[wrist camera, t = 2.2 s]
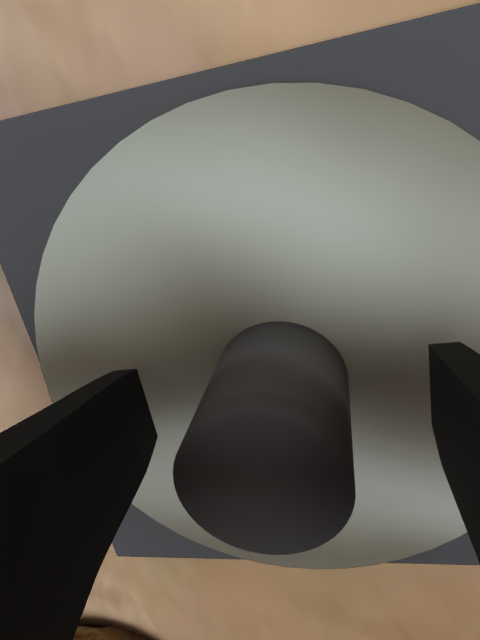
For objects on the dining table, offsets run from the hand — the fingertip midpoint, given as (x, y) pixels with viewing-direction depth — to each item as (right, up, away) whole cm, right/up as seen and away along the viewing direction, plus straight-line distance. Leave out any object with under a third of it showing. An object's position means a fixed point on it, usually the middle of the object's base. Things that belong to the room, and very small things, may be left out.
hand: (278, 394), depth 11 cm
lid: (0, +1, +1) cm, 1 cm away
